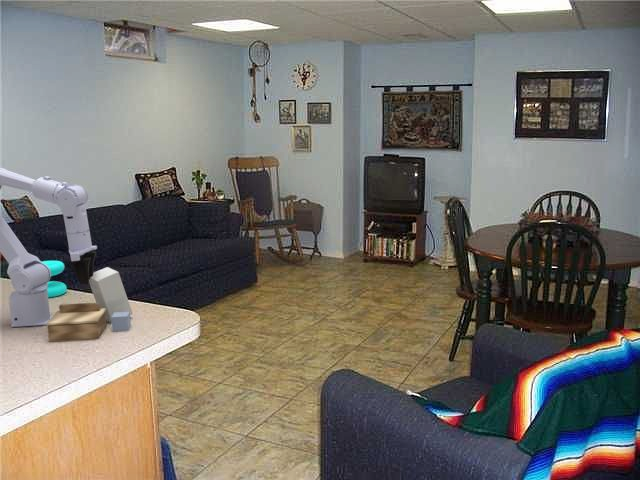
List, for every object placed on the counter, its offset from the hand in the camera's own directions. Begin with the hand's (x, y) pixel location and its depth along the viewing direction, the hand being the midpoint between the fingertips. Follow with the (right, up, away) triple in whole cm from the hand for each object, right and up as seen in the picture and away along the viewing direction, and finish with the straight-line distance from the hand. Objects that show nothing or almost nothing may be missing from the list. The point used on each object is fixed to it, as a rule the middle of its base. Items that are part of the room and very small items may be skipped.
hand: (86, 281), depth 178 cm
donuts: (-22, -6, +32) cm, 39 cm away
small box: (+6, -10, +7) cm, 14 cm away
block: (+10, -12, -2) cm, 16 cm away
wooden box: (0, -13, -6) cm, 14 cm away
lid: (0, -9, -6) cm, 11 cm away
